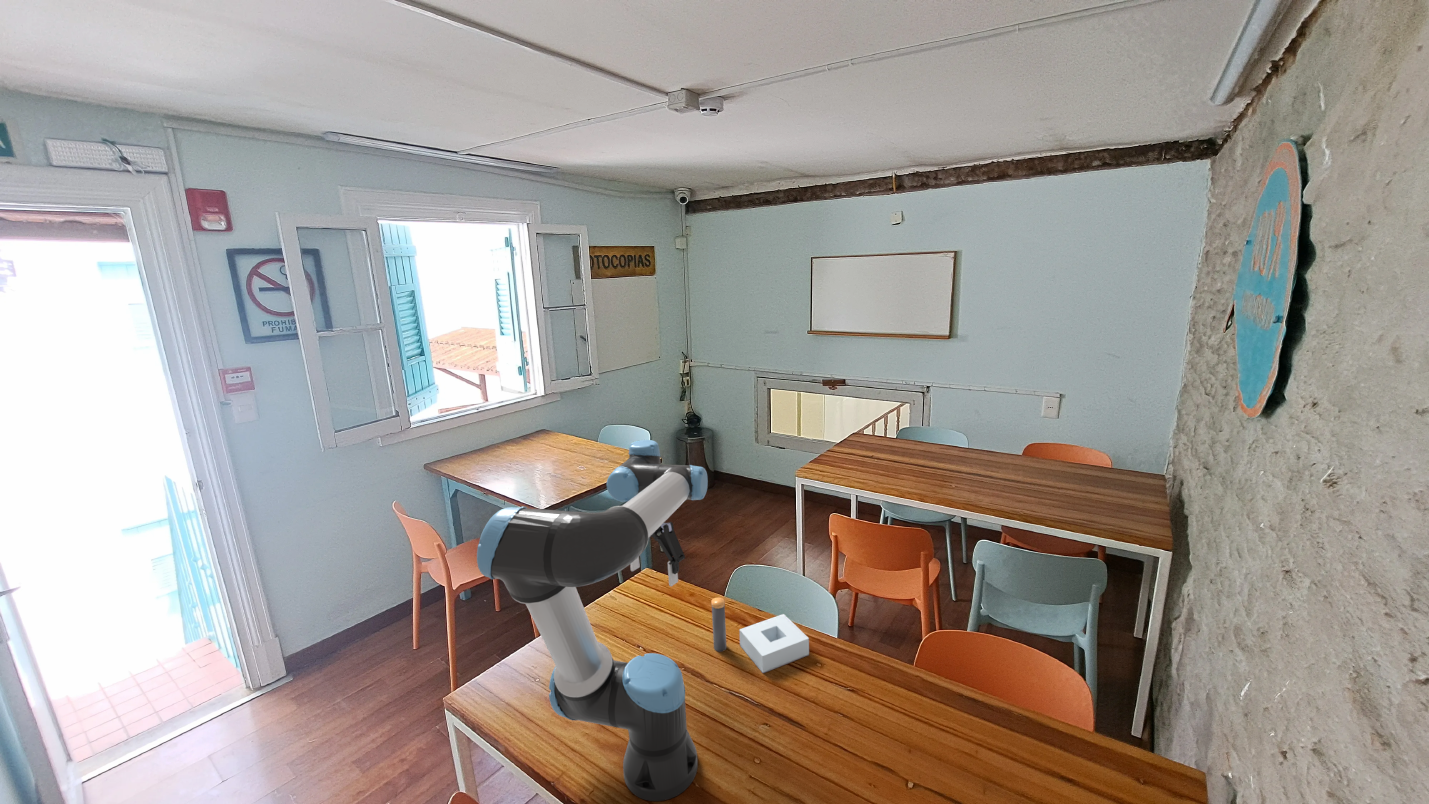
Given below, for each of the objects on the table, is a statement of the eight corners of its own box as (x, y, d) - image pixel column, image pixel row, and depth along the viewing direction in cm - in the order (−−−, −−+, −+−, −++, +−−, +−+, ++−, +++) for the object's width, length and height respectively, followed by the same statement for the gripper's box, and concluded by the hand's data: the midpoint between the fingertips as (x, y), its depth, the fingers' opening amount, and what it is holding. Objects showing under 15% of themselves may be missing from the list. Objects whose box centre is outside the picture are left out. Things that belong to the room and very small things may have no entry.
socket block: (808, 654, 143) (808, 638, 142) (762, 673, 137) (762, 656, 136) (783, 629, 153) (783, 613, 152) (740, 645, 148) (739, 629, 146)
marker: (728, 649, 146) (726, 602, 143) (717, 653, 145) (714, 606, 142) (723, 641, 150) (720, 596, 146) (711, 645, 148) (709, 599, 145)
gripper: (695, 505, 134) (700, 583, 139) (623, 486, 149) (630, 557, 154) (676, 517, 128) (681, 597, 133) (603, 495, 143) (610, 569, 148)
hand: (653, 576), depth 143 cm, fingers open, 13 cm apart
